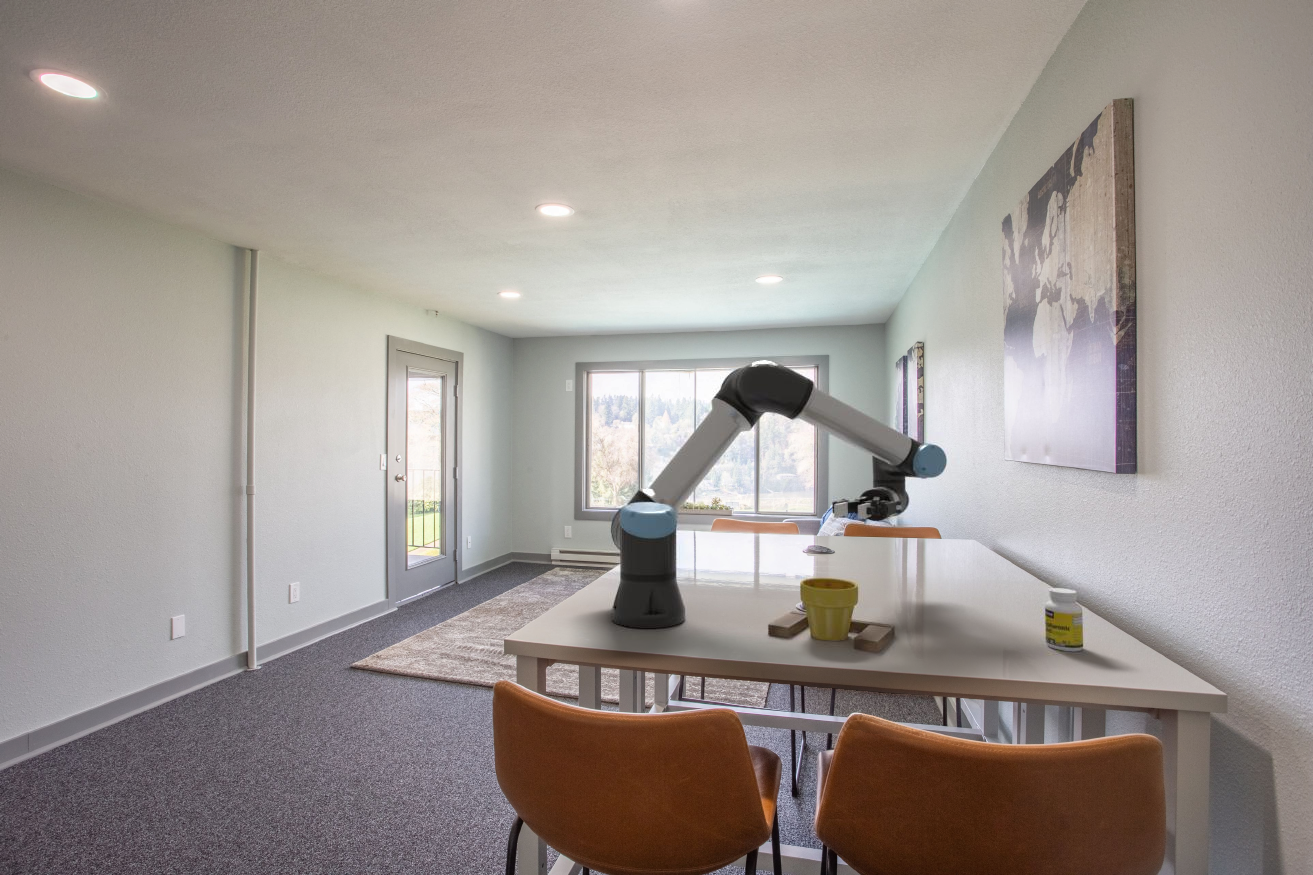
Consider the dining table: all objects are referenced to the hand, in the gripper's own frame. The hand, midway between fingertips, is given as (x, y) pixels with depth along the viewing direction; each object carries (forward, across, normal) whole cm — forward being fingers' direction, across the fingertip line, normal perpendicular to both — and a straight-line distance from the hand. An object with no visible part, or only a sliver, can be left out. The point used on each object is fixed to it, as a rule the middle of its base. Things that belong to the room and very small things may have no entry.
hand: (847, 511), depth 124 cm
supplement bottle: (-3, -36, -22) cm, 42 cm away
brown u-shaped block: (+12, 0, -22) cm, 25 cm away
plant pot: (+12, 0, -22) cm, 25 cm away
